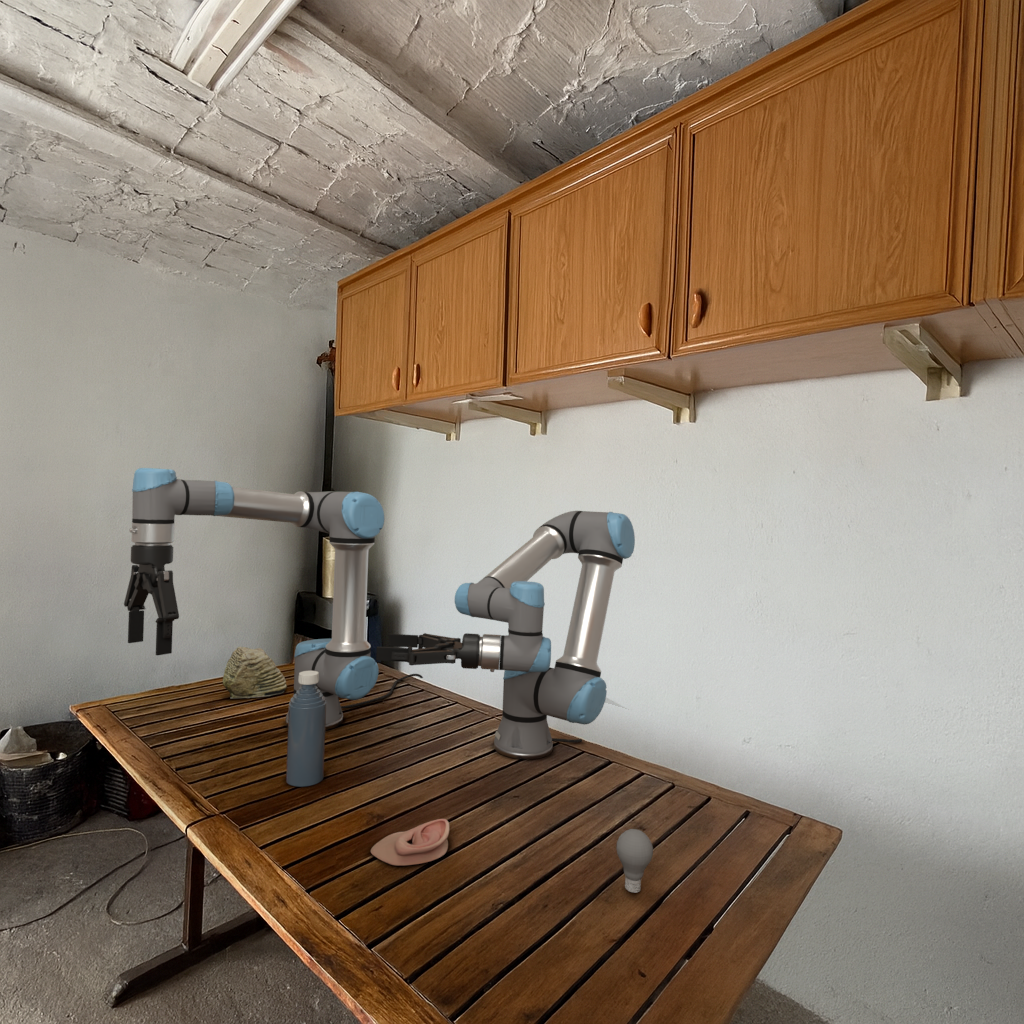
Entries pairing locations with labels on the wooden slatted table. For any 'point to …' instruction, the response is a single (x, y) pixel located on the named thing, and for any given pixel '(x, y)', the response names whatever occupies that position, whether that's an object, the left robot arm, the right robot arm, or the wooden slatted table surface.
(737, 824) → the wooden slatted table surface
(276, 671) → the fossil
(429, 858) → the anatomical model
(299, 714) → the bottle
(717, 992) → the wooden slatted table surface
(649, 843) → the light bulb
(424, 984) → the wooden slatted table surface
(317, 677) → the cap
